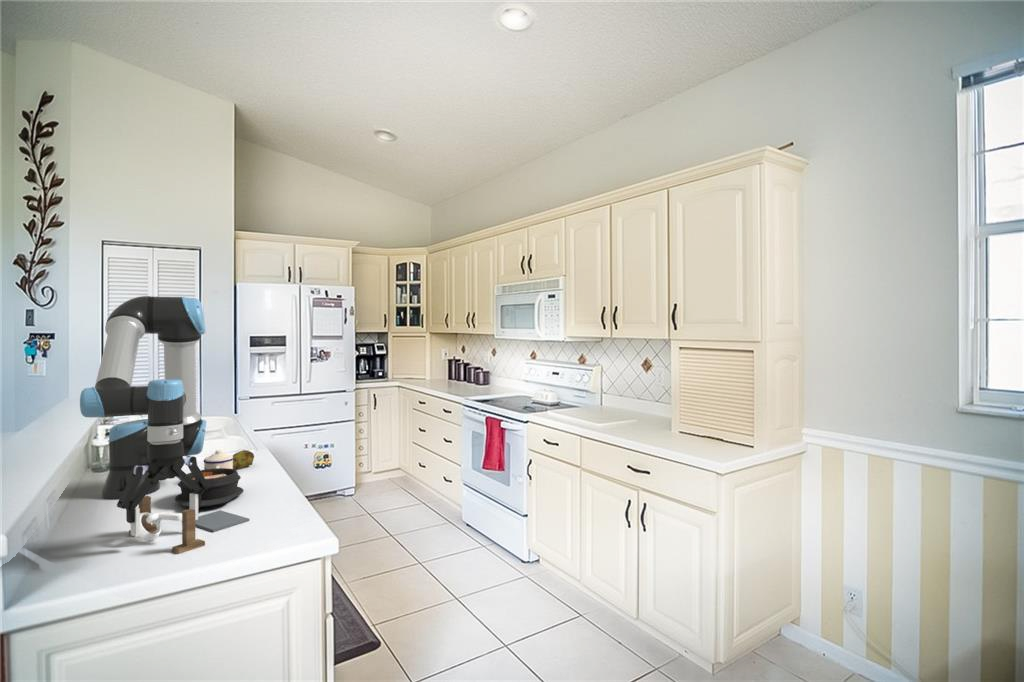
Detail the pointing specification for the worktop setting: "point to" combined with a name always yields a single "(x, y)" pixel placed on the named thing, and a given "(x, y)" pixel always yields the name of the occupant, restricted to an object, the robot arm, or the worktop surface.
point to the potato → (242, 459)
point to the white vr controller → (156, 520)
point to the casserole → (213, 487)
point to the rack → (187, 527)
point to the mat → (219, 520)
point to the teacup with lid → (218, 461)
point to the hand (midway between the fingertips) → (165, 527)
